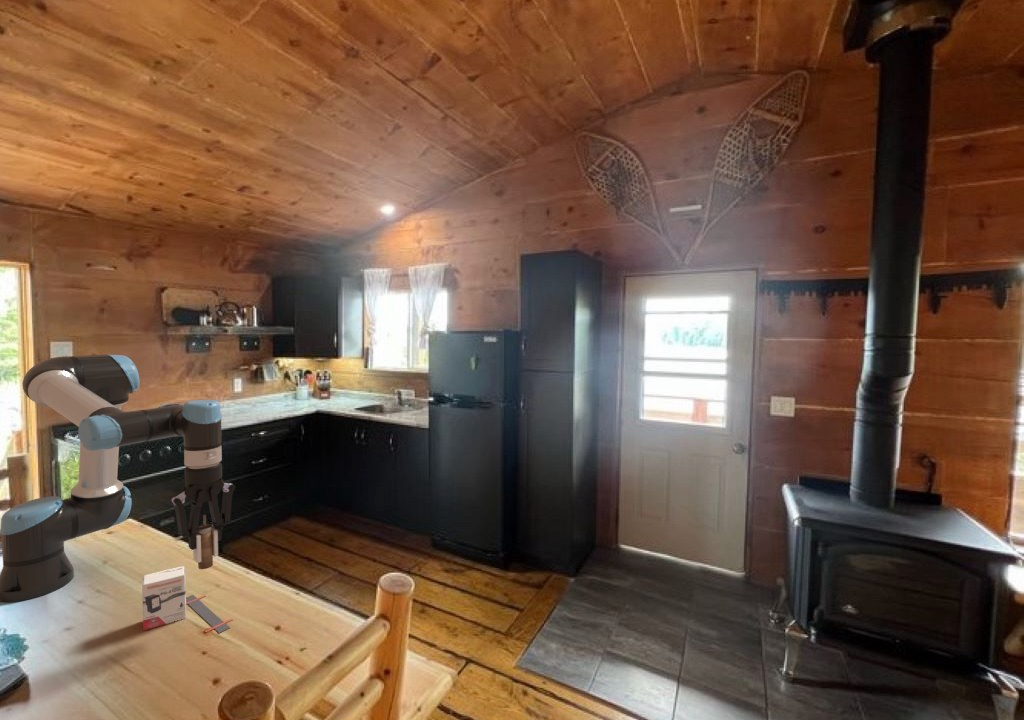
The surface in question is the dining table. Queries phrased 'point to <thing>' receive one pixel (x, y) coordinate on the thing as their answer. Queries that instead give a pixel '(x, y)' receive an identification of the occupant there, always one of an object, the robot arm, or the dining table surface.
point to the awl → (205, 545)
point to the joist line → (207, 614)
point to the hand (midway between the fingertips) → (205, 557)
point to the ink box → (163, 597)
